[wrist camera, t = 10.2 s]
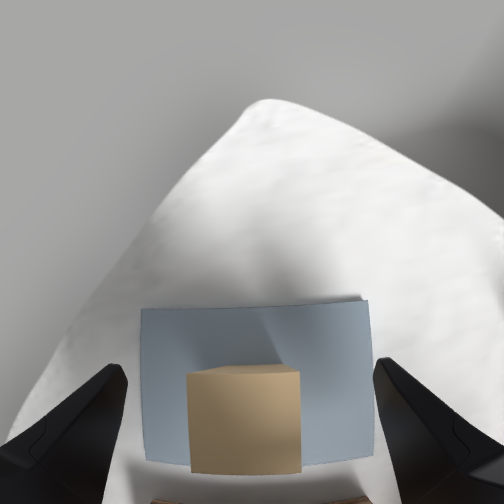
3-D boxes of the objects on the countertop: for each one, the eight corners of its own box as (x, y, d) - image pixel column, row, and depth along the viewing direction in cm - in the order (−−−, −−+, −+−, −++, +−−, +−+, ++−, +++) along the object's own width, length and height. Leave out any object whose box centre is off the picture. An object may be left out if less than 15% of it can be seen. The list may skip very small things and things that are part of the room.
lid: (368, 450, 15) (446, 512, 5) (151, 455, 15) (65, 513, 6) (362, 303, 18) (443, 248, 9) (147, 311, 19) (53, 266, 9)
